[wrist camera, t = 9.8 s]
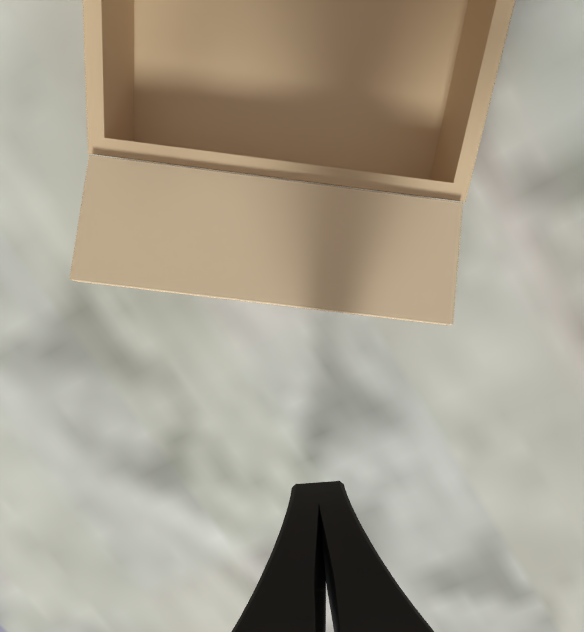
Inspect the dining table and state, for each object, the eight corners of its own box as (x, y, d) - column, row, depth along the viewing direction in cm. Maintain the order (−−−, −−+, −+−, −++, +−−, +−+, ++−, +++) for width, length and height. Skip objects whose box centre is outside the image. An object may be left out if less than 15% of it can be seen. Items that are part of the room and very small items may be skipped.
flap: (452, 324, 15) (446, 325, 15) (463, 202, 15) (456, 207, 16) (69, 279, 14) (76, 281, 15) (89, 154, 15) (95, 161, 15)
